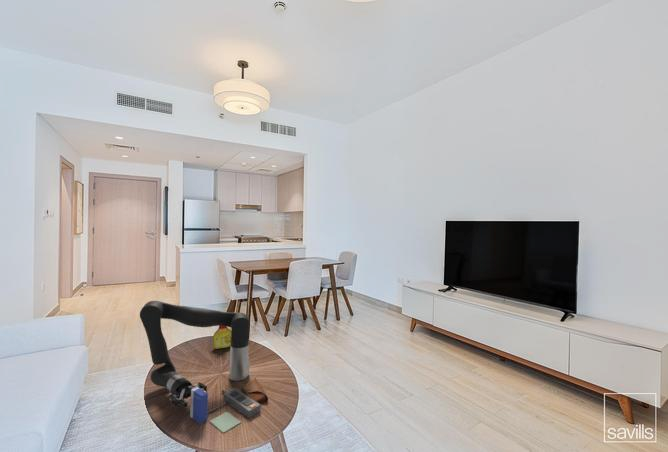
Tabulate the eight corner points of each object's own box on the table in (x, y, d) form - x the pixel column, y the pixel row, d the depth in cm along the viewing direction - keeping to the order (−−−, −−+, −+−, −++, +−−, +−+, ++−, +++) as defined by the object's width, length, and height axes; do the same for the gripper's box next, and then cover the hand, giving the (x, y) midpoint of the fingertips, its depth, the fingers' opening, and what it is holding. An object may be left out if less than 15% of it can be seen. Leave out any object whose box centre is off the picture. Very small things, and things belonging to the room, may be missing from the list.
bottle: (213, 351, 187) (214, 319, 187) (211, 347, 193) (212, 316, 192) (232, 347, 193) (234, 317, 193) (230, 343, 199) (231, 314, 198)
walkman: (207, 420, 124) (208, 392, 124) (200, 424, 122) (201, 395, 121) (195, 413, 128) (196, 385, 128) (189, 416, 126) (190, 388, 126)
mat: (227, 412, 129) (227, 411, 129) (240, 422, 123) (240, 421, 123) (209, 421, 123) (209, 421, 123) (223, 433, 117) (223, 432, 117)
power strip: (192, 406, 133) (192, 399, 133) (227, 389, 147) (228, 382, 146) (224, 432, 117) (224, 424, 117) (260, 411, 131) (260, 403, 131)
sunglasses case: (239, 387, 149) (246, 374, 151) (251, 391, 152) (258, 378, 154) (250, 407, 134) (258, 392, 135) (263, 410, 137) (270, 396, 139)
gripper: (162, 384, 130) (179, 399, 120) (194, 372, 141) (212, 384, 131) (162, 401, 130) (179, 417, 120) (194, 387, 141) (212, 401, 131)
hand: (196, 400), depth 126 cm, fingers open, 8 cm apart
